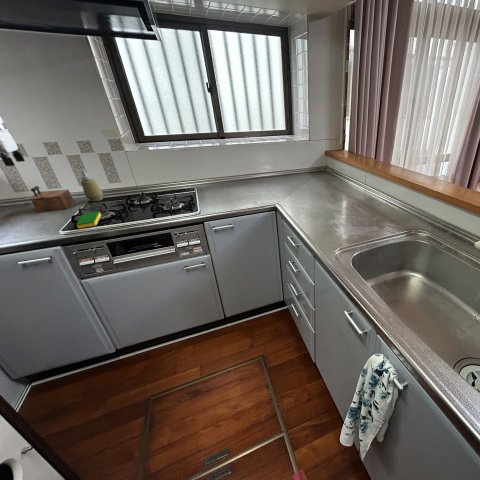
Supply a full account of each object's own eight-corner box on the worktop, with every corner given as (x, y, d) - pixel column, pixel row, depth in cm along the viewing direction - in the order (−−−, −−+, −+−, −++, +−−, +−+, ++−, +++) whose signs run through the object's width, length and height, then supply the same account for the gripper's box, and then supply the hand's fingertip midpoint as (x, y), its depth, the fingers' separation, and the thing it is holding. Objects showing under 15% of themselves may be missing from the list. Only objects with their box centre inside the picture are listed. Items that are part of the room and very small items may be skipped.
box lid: (28, 200, 140) (23, 191, 137) (39, 193, 149) (34, 184, 147) (60, 197, 144) (56, 188, 142) (68, 190, 153) (65, 182, 151)
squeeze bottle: (103, 196, 163) (90, 167, 154) (106, 200, 158) (92, 170, 149) (87, 200, 159) (73, 170, 150) (89, 203, 153) (74, 173, 144)
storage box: (38, 212, 144) (31, 200, 140) (47, 205, 153) (41, 193, 149) (66, 208, 148) (60, 197, 144) (74, 201, 157) (68, 190, 153)
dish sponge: (101, 215, 140) (99, 210, 138) (96, 225, 129) (94, 221, 128) (84, 217, 137) (82, 213, 136) (78, 229, 126) (75, 224, 125)
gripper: (-5, 125, 133) (15, 160, 142) (-28, 130, 119) (-4, 168, 128) (15, 125, 136) (33, 159, 144) (-6, 129, 122) (16, 166, 130)
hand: (15, 163), depth 136 cm, fingers open, 9 cm apart
